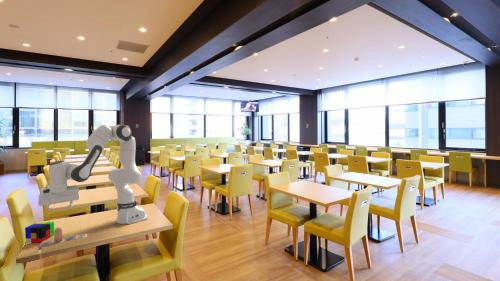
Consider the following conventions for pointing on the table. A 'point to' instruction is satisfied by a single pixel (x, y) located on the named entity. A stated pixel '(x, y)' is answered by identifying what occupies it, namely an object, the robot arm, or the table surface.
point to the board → (61, 241)
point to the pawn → (58, 235)
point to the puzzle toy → (39, 232)
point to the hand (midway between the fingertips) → (59, 209)
